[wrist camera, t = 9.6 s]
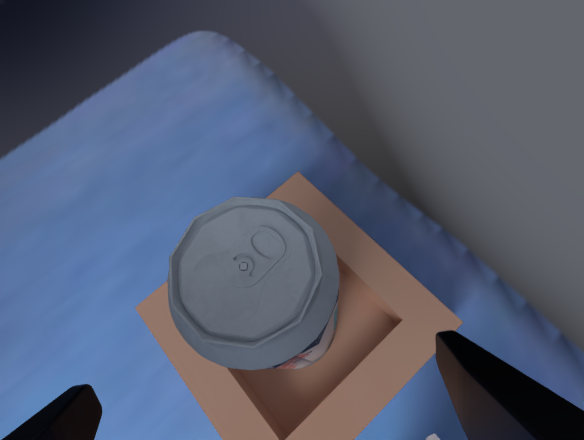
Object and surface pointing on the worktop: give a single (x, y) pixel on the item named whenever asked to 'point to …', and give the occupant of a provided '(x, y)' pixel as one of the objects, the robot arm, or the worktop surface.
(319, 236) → the beer can
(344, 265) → the holder
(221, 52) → the worktop surface
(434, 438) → the lily
